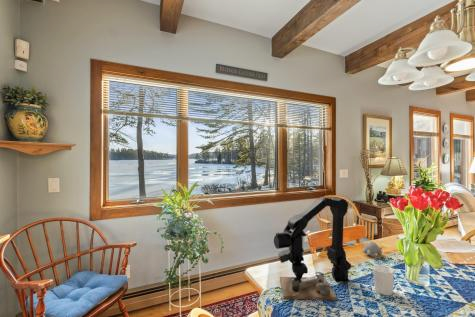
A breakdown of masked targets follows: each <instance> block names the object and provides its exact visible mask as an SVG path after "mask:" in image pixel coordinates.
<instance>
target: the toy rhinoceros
mask: <svg viewBox="0 0 475 317" xmlns="http://www.w3.org/2000/svg"><path fill="white" fill-rule="evenodd" d="M382 249H383V247H382V246H381V247H380V246H379V245H378V244H377V243H376V242H374V241H367V242H365V243H364V248H363V249H362V253H364V254H367V256H370V257H372V258H375V257H376V254H377V255H378V256H382V254H383V250H382Z"/></svg>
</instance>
